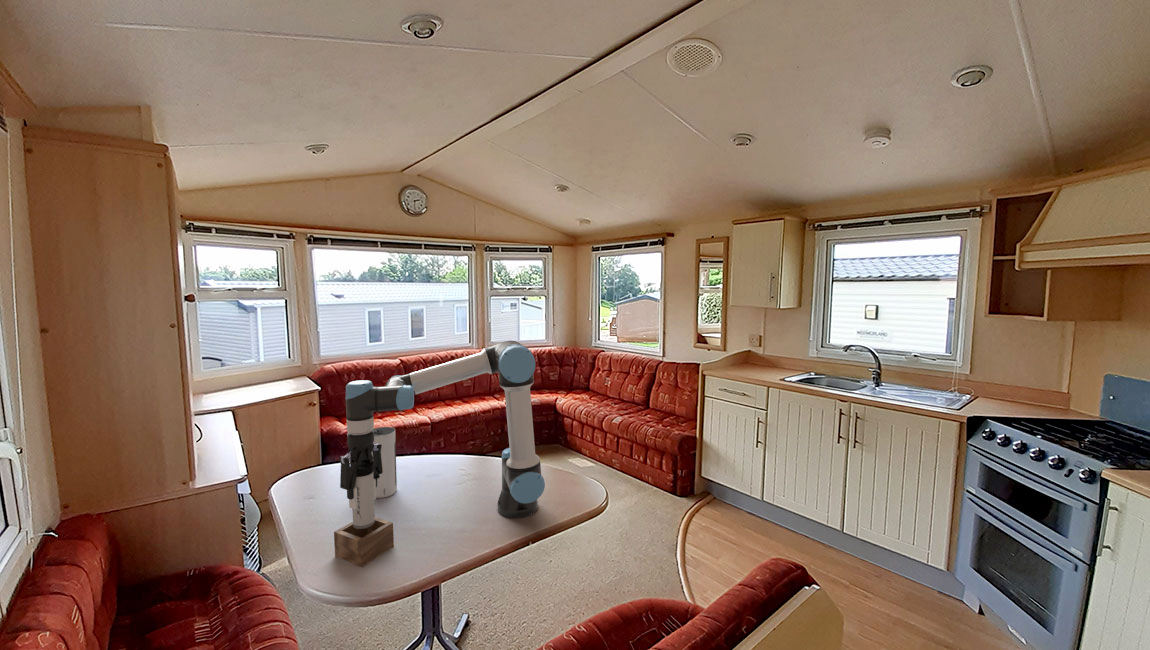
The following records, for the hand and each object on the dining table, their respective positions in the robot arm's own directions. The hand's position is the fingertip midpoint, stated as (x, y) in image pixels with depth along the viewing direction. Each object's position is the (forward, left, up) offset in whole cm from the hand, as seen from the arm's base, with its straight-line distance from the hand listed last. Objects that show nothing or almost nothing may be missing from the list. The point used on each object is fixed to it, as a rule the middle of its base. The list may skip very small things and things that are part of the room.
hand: (363, 502), depth 142 cm
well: (0, 0, -16) cm, 16 cm away
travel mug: (0, 0, -7) cm, 7 cm away
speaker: (+27, -31, -16) cm, 44 cm away
